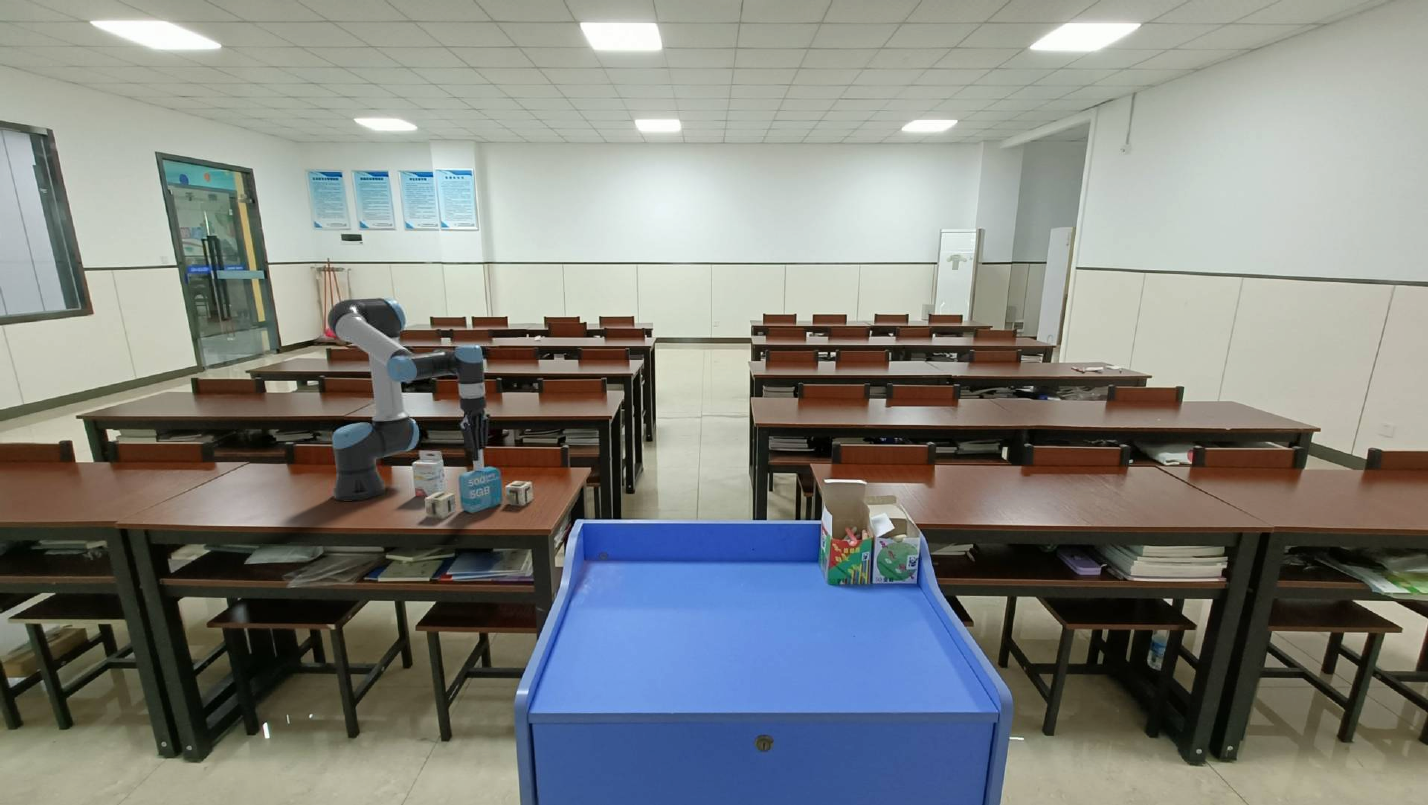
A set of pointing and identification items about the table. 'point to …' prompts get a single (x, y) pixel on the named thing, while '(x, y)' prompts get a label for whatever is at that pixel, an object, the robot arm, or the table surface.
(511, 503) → the maple block seven
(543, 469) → the table surface
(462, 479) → the data package
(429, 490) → the ink cartridge box
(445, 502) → the maple block one
